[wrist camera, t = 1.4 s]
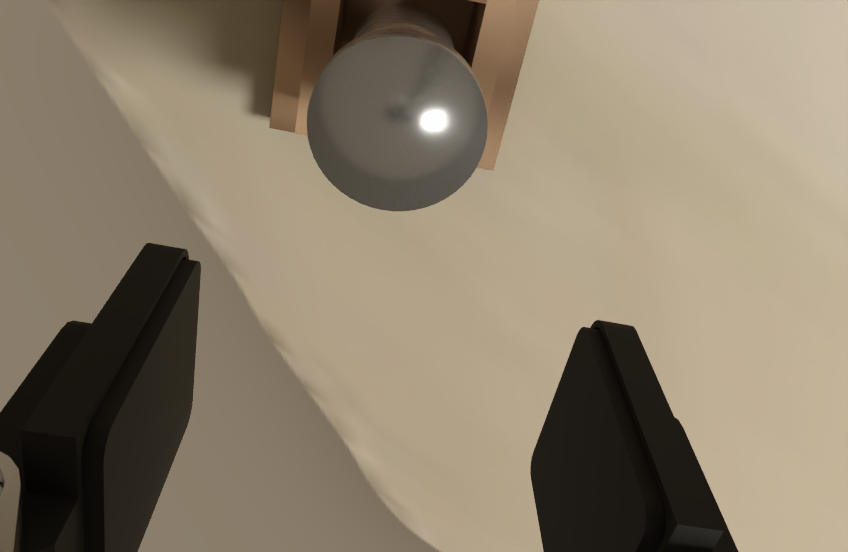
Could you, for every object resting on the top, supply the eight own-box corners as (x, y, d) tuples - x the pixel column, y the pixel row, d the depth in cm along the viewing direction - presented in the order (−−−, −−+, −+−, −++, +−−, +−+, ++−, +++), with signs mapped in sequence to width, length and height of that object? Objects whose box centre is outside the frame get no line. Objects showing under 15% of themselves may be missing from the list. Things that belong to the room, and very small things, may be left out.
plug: (345, -30, 26) (319, 18, 19) (485, 0, 27) (507, 57, 20) (326, 108, 29) (296, 194, 22) (454, 133, 29) (464, 225, 22)
